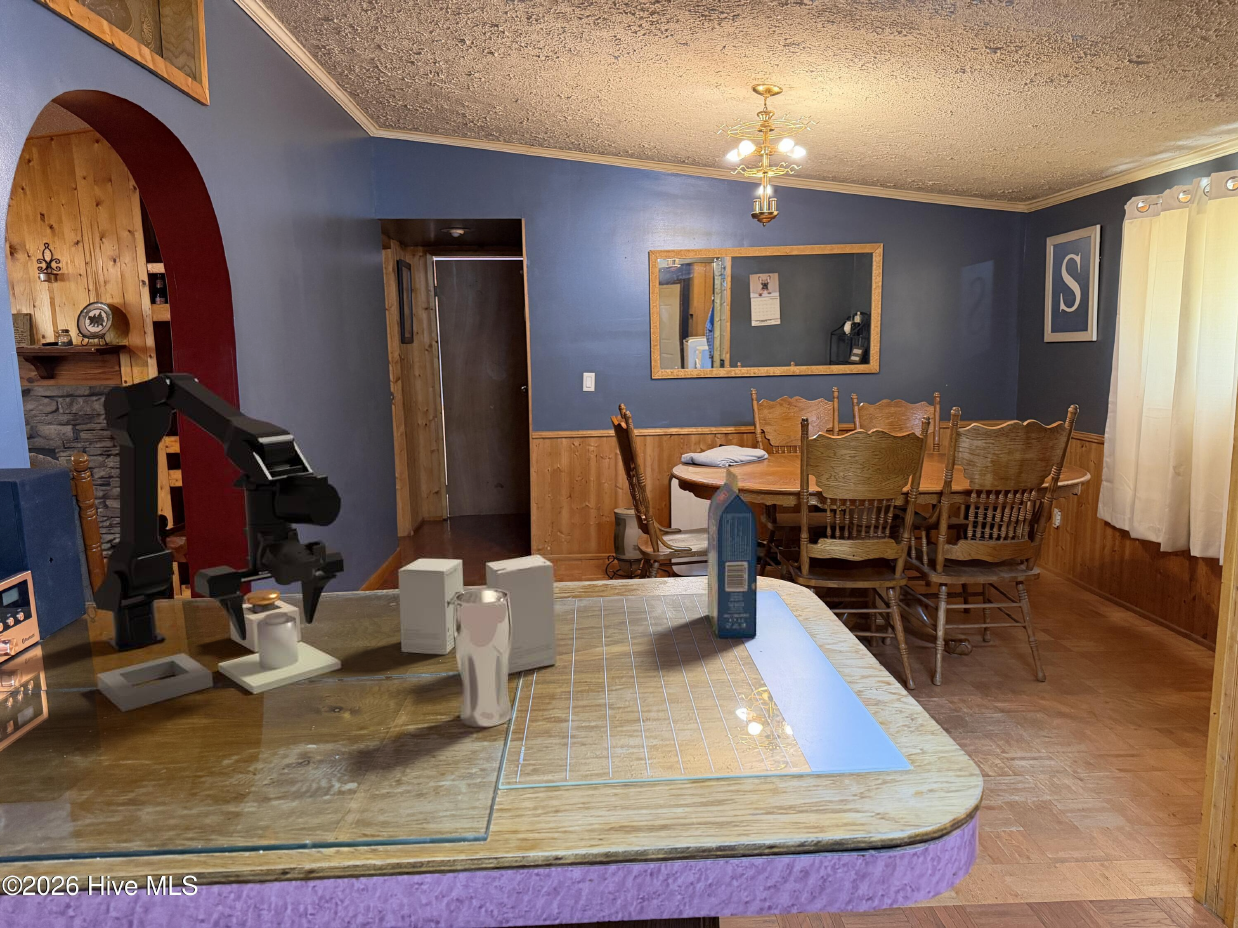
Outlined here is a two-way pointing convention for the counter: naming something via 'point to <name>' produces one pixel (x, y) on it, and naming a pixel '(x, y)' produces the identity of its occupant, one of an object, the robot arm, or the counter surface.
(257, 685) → the dock pad
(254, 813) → the counter surface
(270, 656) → the cylinder
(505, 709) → the beer glass
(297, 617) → the plunger housing
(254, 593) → the plunger
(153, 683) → the socket
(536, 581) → the skincare box
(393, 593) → the counter surface
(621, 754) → the counter surface
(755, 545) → the blue food package
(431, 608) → the supplement box
